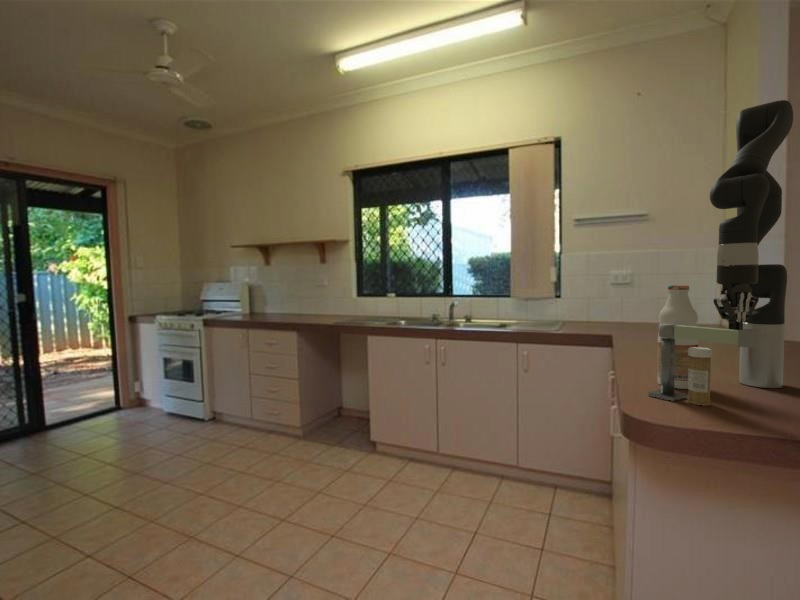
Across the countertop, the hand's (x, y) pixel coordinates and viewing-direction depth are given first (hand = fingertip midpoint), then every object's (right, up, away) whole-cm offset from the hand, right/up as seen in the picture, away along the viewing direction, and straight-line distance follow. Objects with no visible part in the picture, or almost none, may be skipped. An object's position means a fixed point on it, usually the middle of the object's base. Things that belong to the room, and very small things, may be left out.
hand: (735, 337), depth 98 cm
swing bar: (-7, -1, +1) cm, 7 cm away
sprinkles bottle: (-7, -16, +3) cm, 18 cm away
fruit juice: (-1, -15, +19) cm, 25 cm away
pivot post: (-11, -16, +8) cm, 21 cm away
